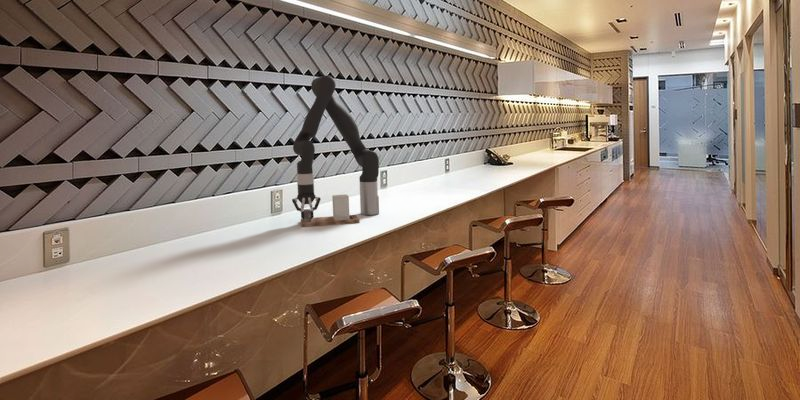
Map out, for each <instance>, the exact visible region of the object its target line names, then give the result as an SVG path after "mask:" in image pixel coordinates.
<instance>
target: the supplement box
mask: <svg viewBox="0 0 800 400" xmlns="http://www.w3.org/2000/svg"><path fill="white" fill-rule="evenodd" d="M331 197H332V198H331V199H332V216H333V218H334V220H335V221H338V220H351V219H350V216H349V215H350V198H349V195H348V194H333V195H332V196H331Z"/></svg>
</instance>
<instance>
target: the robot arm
mask: <svg viewBox="0 0 800 400" xmlns="http://www.w3.org/2000/svg"><path fill="white" fill-rule="evenodd" d="M310 86H311V87H310V89H311V91H312V93H313V94H314V96H315V100H314V102H313V104H312V105H311V107H310V109H309V110H308V111H307V114H306V116H305V118H304V121H303V124H302V127H301V130H300V131H299V133H298V134H297V136H296V137H295V140H294V141H293V145H292V151H293V152H294V154H295V155H297V156H301V160H299V161H297V163H296V172H297V173H296V175H297V177H296V185H297V195H296V196H297V197H294V198H292V200H291V202H292V204H293V205H294V208H295V209H296V211H297V212H300V216H301V218H300V219H302V218H303V220H304V209H305V205H309V209H310V211H311V219H312V218H315V216H314V211H317V210H318V208H319V205H320V202H321V197H320V196H316V195H315V183H314V182H315V180H314V174H313V162H314V158H315V151H316V150H315V145H314V142H312V141H311V139H313V138H315V137H316V135H317V133H318V130H319V127H320V124H321V121H322V118H323V116H324V113H325V111H326V112H327V114H328V116H329V117H330V119H331V120H332V122H333V124H334V126H335V128H336V129H337V130H338V132H339V134H340V135H341V136H342V138H343V139H344V141H345V143H346V144H347V146H348V147H349V149H350V151H351V153H352V155H353V157H354V159H355V161H356V162H357V165H358V166H360V167H361V169H362V173H361V174H360V175H359V198H360V199H359V204H360V205H359V206H360V215H363V216H375V215H380V204H379V203H380V201H379V193H378V176H379V170H380V163H379V162H380V160H379V155H378V153H377V152H376V151H374V150H370V149H367V146H365V143H363V141H362V140H361V136H360V131H359V127H358V125H357V123H356V122H355V119H354V118H353V117H352V115H351V114H350V113H349V111H348V110H347V109H346V108H345V107H344V106H342V105H341V104H340V103H339V102H338V101H337V99H335V97H334V96H333V94H334V92H335V90H336V81H335V78H333V77H332V76H331V75H329V74H328V75H327V74H326V75H325V74H324V75H322V76H319V77H316V78H314V79H313V80H312V81H311V85H310ZM314 200H315V204H314V206H313V202H314ZM298 201H299V202H300V203H301V204H300V207H299V205H298Z"/></svg>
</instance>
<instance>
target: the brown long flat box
mask: <svg viewBox="0 0 800 400" xmlns="http://www.w3.org/2000/svg"><path fill="white" fill-rule="evenodd" d="M303 211H304V220H303V218H300V224H301V227H302V228H304V227H305V228H308V227H317V226H318V227H320V226H332V225H346V224H347V225H348V224H360V222H361V221H360V218H359V217H358V215H356V214H349V216H350V220H338V221H335V220H334V218H333V215H332V216H330V215H329V216H317V217H313V218H312V219H311V210H310V208H306V209H305V208H304V210H303Z"/></svg>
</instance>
